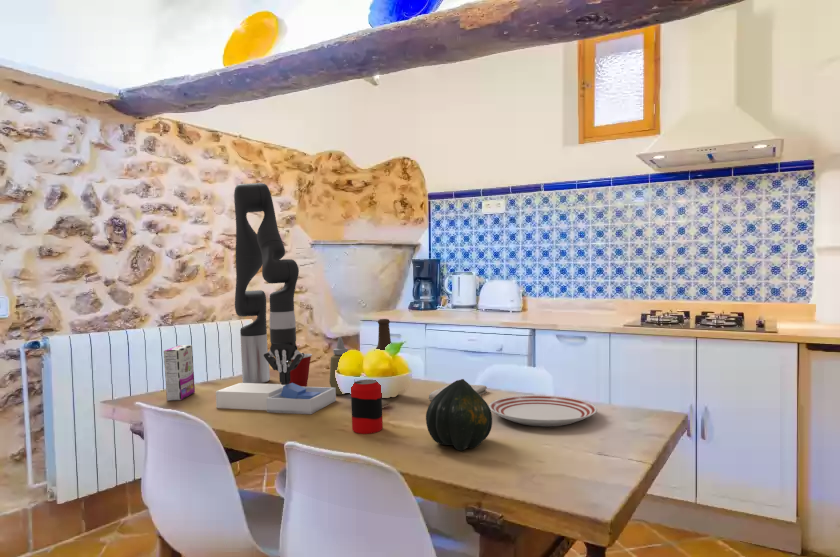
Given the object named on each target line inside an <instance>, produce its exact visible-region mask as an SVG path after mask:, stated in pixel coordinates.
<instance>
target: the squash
mask: <svg viewBox="0 0 840 557" xmlns="http://www.w3.org/2000/svg"><path fill="white" fill-rule="evenodd" d="M448 385H449V386H447V387H446V388H444V389H443V390H442V391H440V392H439V393H438V394H437V395H436V396H435V397H434V398H433V400H432V401H431V400H430V403H429V404H428V407H427V409H426V413H425V421H426V422H425V423H426V424H425V425H426V428H427V431H428V433H429V435H430V437H431V438H432V440H433V441H434V443H437V444H439V445H443V446H446V445H448V446H452V445H453V447H454V448H455V449H456V450H458V451H460V452H462V451H465V450H466V449H467V448H469V449H473V448H474V449H475V448H476V447H478V446H480V445H481V444H482V443H483V441H484V440H485V439H486V438H488V436H489V435H490V433H491V431H492V427H493V414H492V413H493V412H492V411H491V410H490V408H489V404H488V403H487V402H486V401H485V399H484V398H483V397H482V395H479V394H478V393H477V392H476V391H475V390H474V389H473V388H472V387H471V386H470V385H471V384H470V383H468V382H467V381H466V380H465V379H464V378H461V379H457V380H455V381H453V382H452V383H450V384H448Z"/></svg>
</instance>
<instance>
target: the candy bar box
mask: <svg viewBox="0 0 840 557" xmlns="http://www.w3.org/2000/svg"><path fill="white" fill-rule="evenodd" d="M193 356H194V354H193V345H192V344H180V345H176V346H174V347H171V348H168V349H165V350H163V364H164V373H165V374H164V376H165V393H166V402H167V401H169V402H174V401H175V402H176V401H182V400H184V399H186V398H188V397H189V396H192V395H193V394H195V393H196V391H195V390H196V389H195V388H196V387H195V375H194V358H193Z"/></svg>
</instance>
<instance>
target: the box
mask: <svg viewBox="0 0 840 557" xmlns="http://www.w3.org/2000/svg"><path fill="white" fill-rule="evenodd" d="M304 388H306V392H321V394H319V395H317V396H315V397H313V398H311V399H289V398H285V397H283V396H281V393H282V392H280V393H278V394H275V395H273V396H271V397H268V398H266V399H267V410H266V413H275V414H276V413H277V414H293V415H294V414H295V415H296V414H297V415H313V414H315V413H316V412H318V411H320V410H322V409H324V408H325V407H327V406H329V405H330V404H333V403H335V402H336V401H337V394H336V388H332V387H331V386H329V387H328V386H327V387H325V386H324V387H323V386H322V387H321V386H307V387H304Z"/></svg>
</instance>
